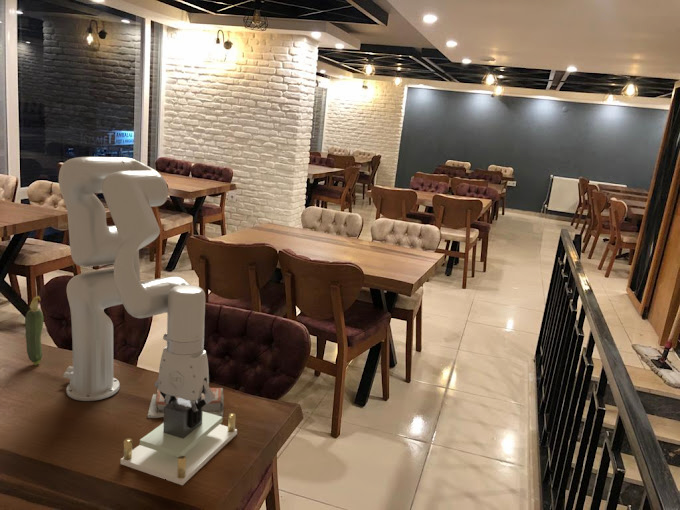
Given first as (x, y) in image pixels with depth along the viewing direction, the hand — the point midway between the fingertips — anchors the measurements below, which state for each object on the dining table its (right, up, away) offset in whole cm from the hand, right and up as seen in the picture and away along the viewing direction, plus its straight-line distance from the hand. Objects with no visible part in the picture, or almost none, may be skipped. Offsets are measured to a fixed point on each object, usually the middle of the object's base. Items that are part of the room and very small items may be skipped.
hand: (183, 421), depth 121 cm
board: (0, -3, +1) cm, 3 cm away
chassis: (-1, -6, +2) cm, 7 cm away
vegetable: (-51, +6, +34) cm, 61 cm away
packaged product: (-4, -3, +19) cm, 19 cm away
